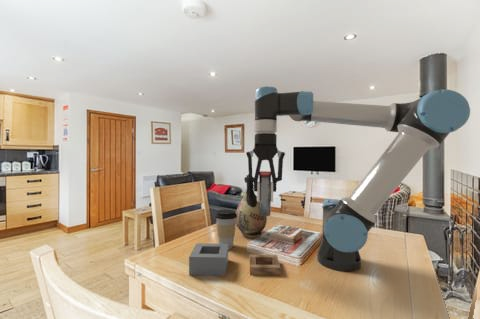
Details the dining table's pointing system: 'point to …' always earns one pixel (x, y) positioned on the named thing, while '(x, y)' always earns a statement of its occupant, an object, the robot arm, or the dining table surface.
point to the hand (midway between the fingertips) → (264, 200)
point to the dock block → (209, 259)
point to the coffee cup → (226, 226)
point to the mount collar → (264, 269)
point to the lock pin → (265, 193)
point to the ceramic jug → (250, 213)
